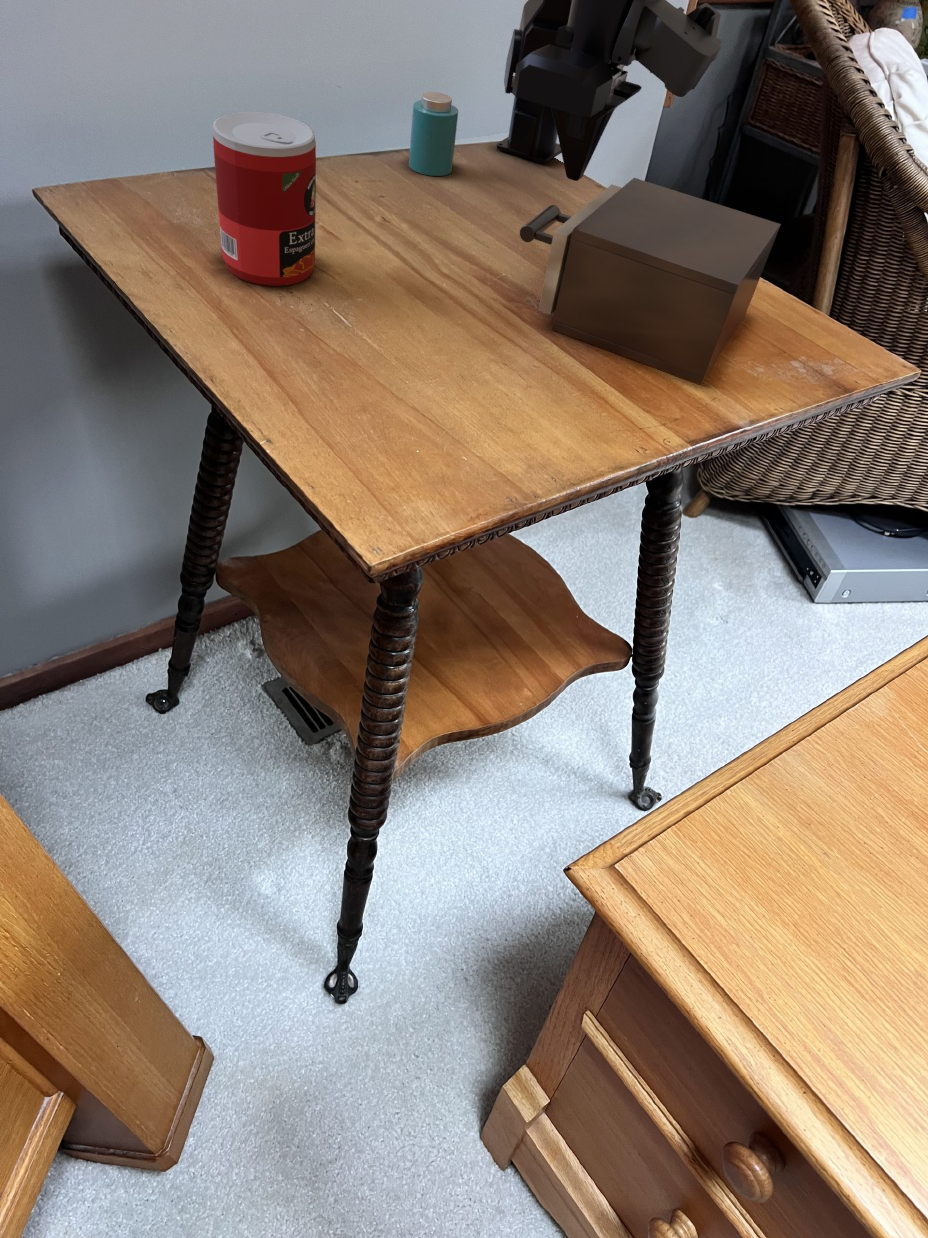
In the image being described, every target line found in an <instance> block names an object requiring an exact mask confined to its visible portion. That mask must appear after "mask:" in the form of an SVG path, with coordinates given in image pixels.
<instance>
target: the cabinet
mask: <svg viewBox="0 0 928 1238" xmlns="http://www.w3.org/2000/svg"><path fill="white" fill-rule="evenodd" d="M781 225H782V224H781V223H778V222H775V221H772V220H770V219H766V218H763V217H759V216H756V215H753V214H750V213H747V212H743V211H741V210H738V209H734V208H731V207H728V206H725V205H722V204H719V203H715V202H713V201H709V200H706V199H704V198H700V197H696V196H693V195H690V194H687V193H684V192H680V191H678V190H674V189H672V188H669V187H665V186H662V185H658V184H656V183H652V182H649V181H646V180H643V179H640V178H637V177H633V178H632V179H630V180H629V181H628V182H627V183H625V185H623V186H621V189H620V190H619V191H618V192H616V193H615V194H614V195H613V196H612V197H610V198H609V199H608V200H607V201H606V202H605V203H603V204H602V205H601V206H600V207H599V208H597V209H596V210H595V211H594V212H593V213H592V214H590V215H589V216H588V217H587V218H586V219H584V220H583V221H582V222H581V223H580V224H578V225H577V226H576V227H575V228H574V229H573V232H572V237H571V242H570V246H569V251H568V255H567V260H566V265H565V269H564V274H563V278H562V283H561V287H560V292H559V297H558V301H557V306H556V310H555V311H554V315H553V321H552V324H551V328H550V329H551V331H554V332H557V333H560V334H562V335H565V336H568V337H570V338H572V339H576V340H579V341H581V342H584V343H586V344H590V345H592V346H595V347H598V348H600V349H603V350H605V351H608V352H611V353H614V354H615V355H619V356H622V357H624V358H626V359H630V360H633V361H636V362H638V363H641V364H643V365H646V366H649V367H651V368H654V369H657V370H659V371H663V372H665V373H666V374H670V375H673V376H676V377H678V378H681V379H682V380H683V379H684V380H687V381H689V382H691V383H694V384H696V385H700V386H702V385H703V384H704V382H705V380H706V378H707V377H708V375H709V373H710V372H711V371H712V369H713V367H714V366H715V364H716V363H717V361H718V360H719V358H720V357H721V355H722V354H723V352H724V350H725V349H726V347H727V346H728V344H729V343H730V341H731V339H732V338H733V337H734V335H735V333H736V331H737V330H738V328H739V326H740V325H741V324H742V322H743V321H744V319H745V318H746V315H747V312H748V309H749V307H750V305H751V302H752V300H753V297H754V294H755V292H756V289H757V287H758V284H759V281H760V280H761V277H762V274H763V271H764V269H765V266H766V263H767V261H768V258H769V256H770V253H771V250H772V248H773V245H774V243H775V240H776V238H777V235H778V233H779V230H780V228H781Z"/></svg>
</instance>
